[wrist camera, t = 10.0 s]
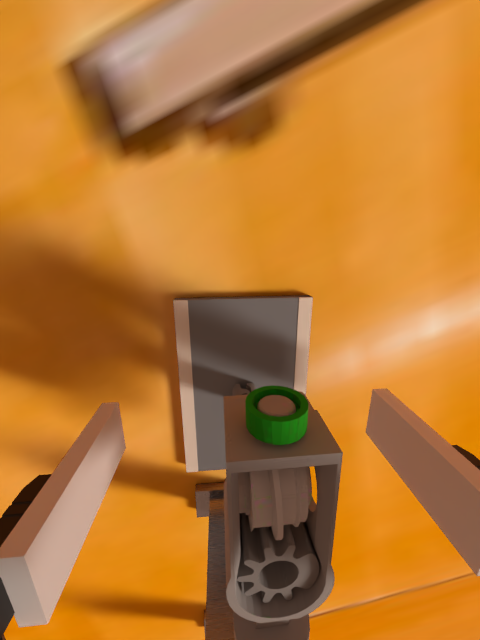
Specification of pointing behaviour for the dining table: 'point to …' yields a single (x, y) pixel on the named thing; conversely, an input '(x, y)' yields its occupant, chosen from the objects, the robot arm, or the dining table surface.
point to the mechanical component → (277, 511)
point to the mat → (234, 360)
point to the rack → (215, 563)
